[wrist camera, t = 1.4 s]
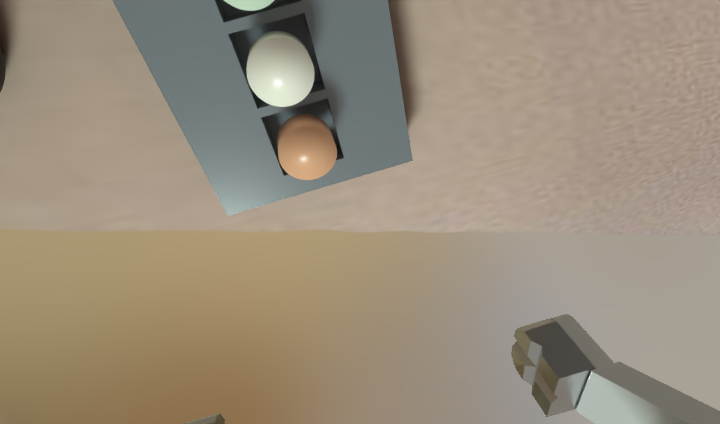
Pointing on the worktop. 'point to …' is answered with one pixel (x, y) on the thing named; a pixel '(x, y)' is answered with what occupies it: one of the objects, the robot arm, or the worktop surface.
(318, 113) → the panel
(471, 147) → the worktop surface
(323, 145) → the terracotta button
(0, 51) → the cola bottle
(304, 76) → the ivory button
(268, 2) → the sage button
